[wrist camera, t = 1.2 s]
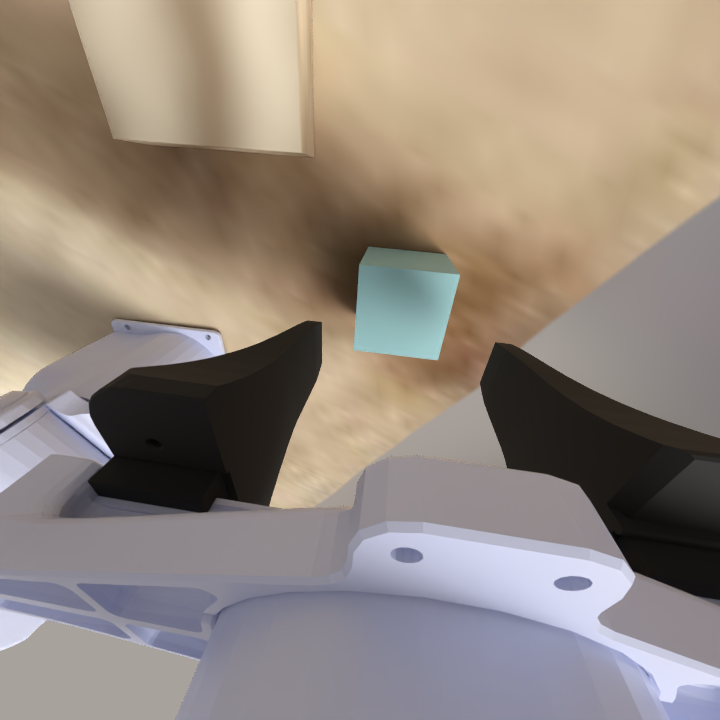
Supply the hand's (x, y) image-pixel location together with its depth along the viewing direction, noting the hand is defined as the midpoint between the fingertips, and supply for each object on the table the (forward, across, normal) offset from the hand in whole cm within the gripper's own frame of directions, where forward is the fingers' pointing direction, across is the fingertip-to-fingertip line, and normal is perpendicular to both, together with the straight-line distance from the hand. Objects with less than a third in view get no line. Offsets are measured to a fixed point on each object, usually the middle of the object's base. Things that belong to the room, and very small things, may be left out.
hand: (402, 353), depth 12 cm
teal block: (+9, 0, 0) cm, 9 cm away
